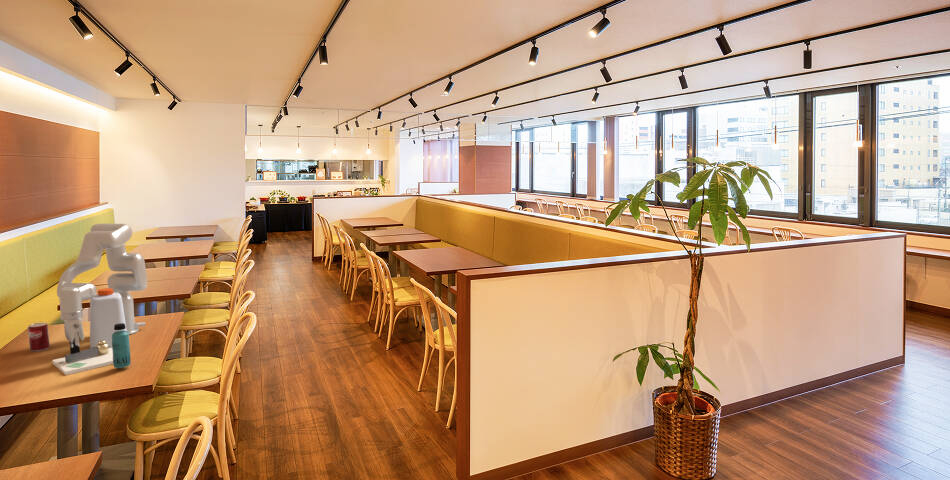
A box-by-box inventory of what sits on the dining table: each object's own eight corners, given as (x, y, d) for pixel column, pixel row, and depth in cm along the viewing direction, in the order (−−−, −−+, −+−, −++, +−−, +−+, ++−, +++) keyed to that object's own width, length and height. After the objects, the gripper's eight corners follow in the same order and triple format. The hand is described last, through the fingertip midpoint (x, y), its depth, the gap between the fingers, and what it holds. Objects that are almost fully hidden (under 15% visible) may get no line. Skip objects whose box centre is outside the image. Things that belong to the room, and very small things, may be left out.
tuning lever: (105, 350, 246) (104, 339, 245) (110, 352, 244) (109, 340, 243) (63, 361, 231) (62, 349, 230) (69, 363, 229) (68, 351, 228)
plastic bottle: (129, 347, 256) (125, 290, 253) (90, 353, 247) (86, 294, 244) (126, 339, 268) (122, 284, 265) (89, 344, 259) (85, 288, 255)
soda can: (38, 352, 247) (36, 327, 246) (25, 351, 249) (23, 326, 247) (53, 347, 254) (51, 323, 253) (41, 346, 256) (39, 321, 254)
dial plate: (112, 350, 252) (112, 346, 252) (128, 360, 240) (127, 356, 239) (52, 363, 234) (52, 359, 234) (65, 375, 222) (65, 371, 222)
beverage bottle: (118, 366, 233) (115, 321, 230) (134, 365, 234) (131, 321, 231) (110, 371, 227) (106, 326, 224) (126, 371, 227) (123, 326, 224)
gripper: (87, 316, 231) (90, 357, 233) (77, 310, 240) (80, 349, 243) (66, 320, 225) (69, 361, 228) (56, 313, 235) (60, 353, 237)
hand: (75, 355), depth 235 cm, fingers closed
